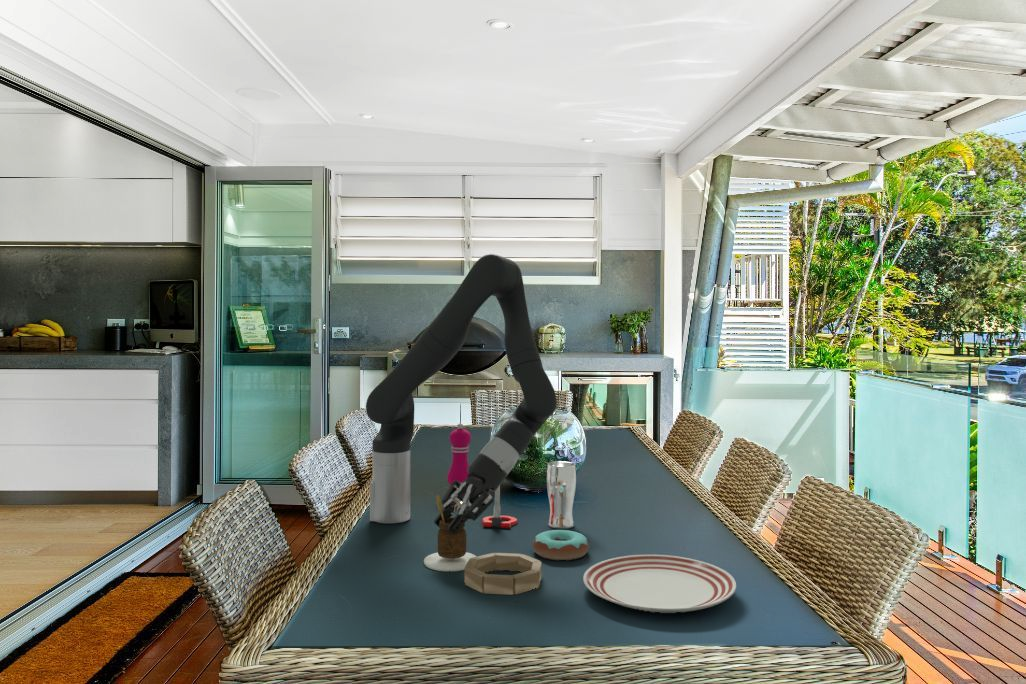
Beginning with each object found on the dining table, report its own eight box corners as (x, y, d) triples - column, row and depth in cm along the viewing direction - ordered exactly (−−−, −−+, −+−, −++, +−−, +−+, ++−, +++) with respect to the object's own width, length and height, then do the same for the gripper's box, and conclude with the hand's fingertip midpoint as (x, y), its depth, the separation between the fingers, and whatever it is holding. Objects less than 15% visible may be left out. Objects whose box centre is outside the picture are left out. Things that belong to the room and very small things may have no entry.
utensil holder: (460, 560, 152) (459, 501, 151) (431, 557, 154) (431, 498, 153) (471, 551, 157) (470, 494, 157) (443, 548, 159) (443, 492, 159)
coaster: (418, 570, 150) (418, 567, 150) (430, 552, 161) (430, 550, 161) (473, 572, 149) (473, 569, 149) (481, 554, 160) (481, 552, 160)
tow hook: (485, 519, 190) (478, 527, 180) (486, 467, 190) (479, 473, 181) (519, 521, 188) (513, 529, 179) (520, 469, 188) (514, 475, 179)
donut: (553, 567, 153) (553, 547, 153) (521, 551, 164) (522, 532, 163) (600, 557, 160) (600, 538, 160) (566, 542, 170) (566, 524, 170)
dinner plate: (635, 636, 121) (635, 615, 121) (557, 580, 146) (557, 563, 146) (769, 610, 132) (770, 591, 131) (676, 562, 157) (676, 546, 157)
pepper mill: (476, 492, 216) (476, 422, 215) (466, 497, 209) (467, 425, 209) (453, 490, 218) (453, 421, 218) (443, 495, 212) (443, 424, 211)
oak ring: (460, 592, 139) (460, 576, 139) (473, 566, 153) (473, 551, 153) (537, 595, 137) (537, 579, 137) (543, 569, 151) (543, 554, 151)
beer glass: (579, 523, 184) (580, 462, 184) (569, 531, 178) (569, 467, 177) (553, 520, 187) (553, 459, 187) (542, 527, 181) (542, 465, 180)
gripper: (465, 447, 165) (416, 510, 158) (501, 458, 153) (449, 526, 146) (486, 468, 168) (438, 531, 162) (523, 480, 156) (472, 548, 150)
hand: (444, 528), depth 154 cm, fingers closed on utensil holder, 5 cm apart
